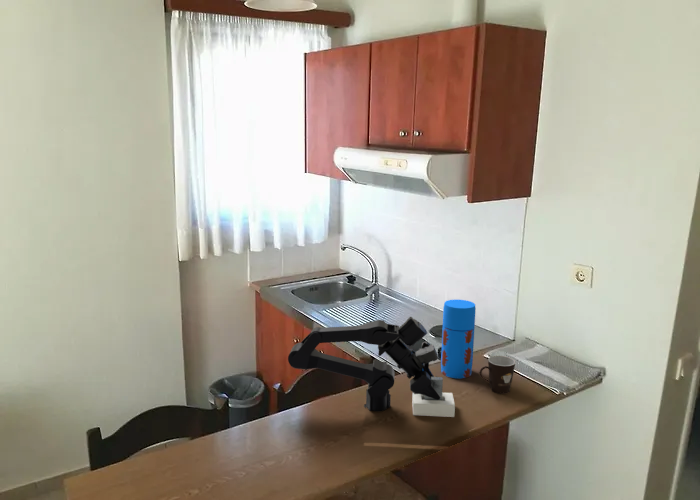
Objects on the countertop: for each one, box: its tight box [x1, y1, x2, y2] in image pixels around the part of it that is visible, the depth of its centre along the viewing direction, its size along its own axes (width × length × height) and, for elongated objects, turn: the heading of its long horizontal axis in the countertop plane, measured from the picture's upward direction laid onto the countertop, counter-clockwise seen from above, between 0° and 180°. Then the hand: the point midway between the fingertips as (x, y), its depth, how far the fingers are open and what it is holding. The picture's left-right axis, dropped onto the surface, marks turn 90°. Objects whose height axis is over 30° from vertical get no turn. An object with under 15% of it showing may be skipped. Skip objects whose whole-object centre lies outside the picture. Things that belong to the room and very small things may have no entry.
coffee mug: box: [479, 355, 516, 395], centre depth 183 cm, size 12×9×10 cm
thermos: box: [440, 299, 476, 379], centre depth 195 cm, size 11×11×25 cm
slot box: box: [411, 392, 456, 418], centre depth 168 cm, size 12×8×4 cm, turn 86°
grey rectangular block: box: [424, 376, 444, 401], centre depth 168 cm, size 5×2×10 cm, turn 86°
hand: (438, 391), depth 167 cm, fingers open, 9 cm apart
